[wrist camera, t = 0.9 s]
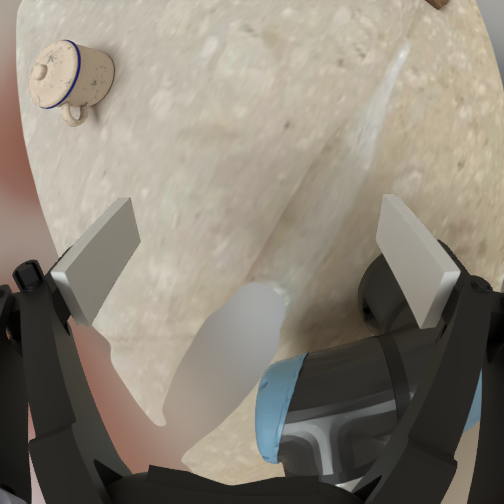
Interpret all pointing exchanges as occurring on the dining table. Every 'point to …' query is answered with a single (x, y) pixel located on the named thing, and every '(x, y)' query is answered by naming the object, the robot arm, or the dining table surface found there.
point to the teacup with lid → (70, 78)
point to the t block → (437, 3)
